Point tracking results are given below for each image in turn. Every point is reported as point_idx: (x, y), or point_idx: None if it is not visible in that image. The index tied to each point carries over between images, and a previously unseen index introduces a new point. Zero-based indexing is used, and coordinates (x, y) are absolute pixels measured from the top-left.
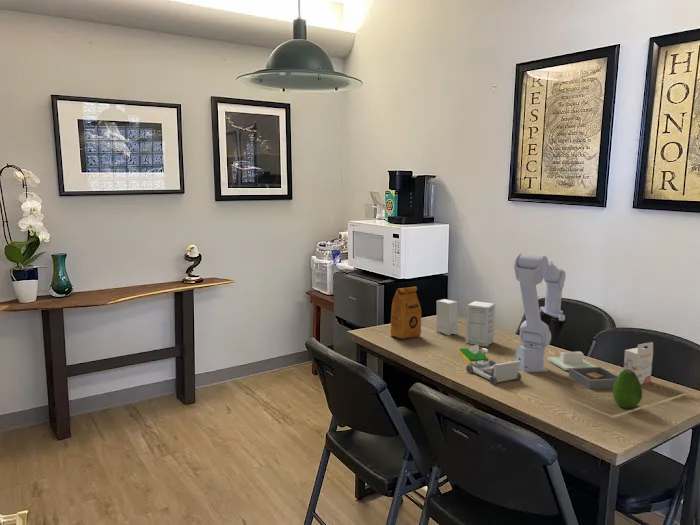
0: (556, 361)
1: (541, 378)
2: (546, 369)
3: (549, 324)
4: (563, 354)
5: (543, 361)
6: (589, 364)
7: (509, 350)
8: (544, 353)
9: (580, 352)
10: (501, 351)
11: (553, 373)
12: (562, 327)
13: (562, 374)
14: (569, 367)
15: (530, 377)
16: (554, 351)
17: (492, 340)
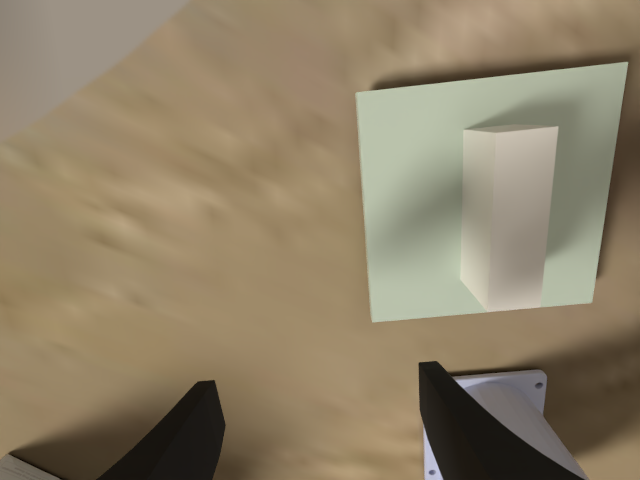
0: (462, 300)
1: (612, 428)
2: (526, 375)
3: (174, 439)
4: (532, 305)
5: (552, 431)
6: (564, 92)
7: None
8: (575, 470)
9: (526, 143)
10: None
11: (562, 349)
12: (528, 444)
13: (588, 311)
14: (589, 272)
15: (586, 465)
16: (139, 161)
17: (22, 477)
